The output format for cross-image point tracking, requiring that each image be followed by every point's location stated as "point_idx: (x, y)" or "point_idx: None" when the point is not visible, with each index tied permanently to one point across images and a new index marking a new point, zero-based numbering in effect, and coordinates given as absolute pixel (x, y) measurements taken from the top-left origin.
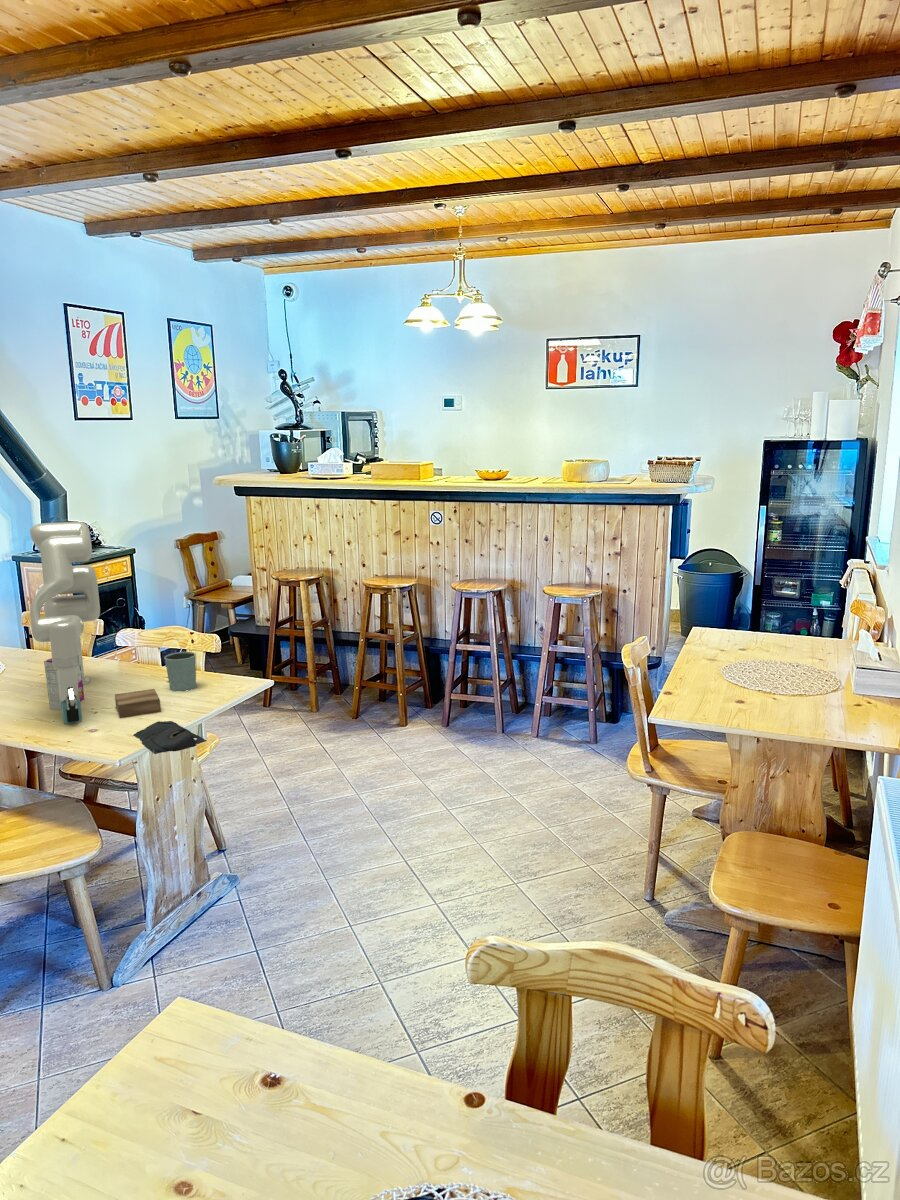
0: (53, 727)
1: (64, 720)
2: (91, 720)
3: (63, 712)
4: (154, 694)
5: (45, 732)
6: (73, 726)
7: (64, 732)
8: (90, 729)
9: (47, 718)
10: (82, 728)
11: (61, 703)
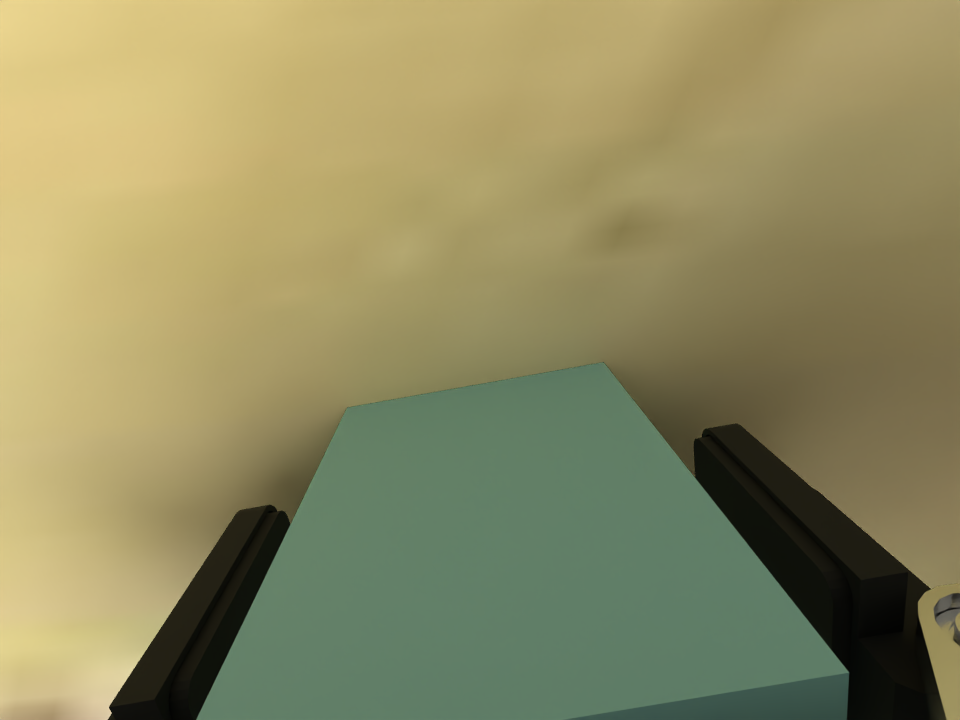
0: (293, 257)
1: (331, 454)
2: None
3: (288, 549)
4: None
5: (49, 151)
6: None
7: (8, 443)
8: (87, 717)
9: (844, 95)
10: (146, 635)
11: (496, 645)
